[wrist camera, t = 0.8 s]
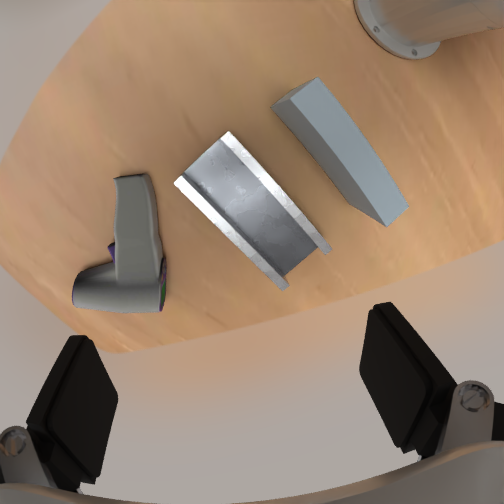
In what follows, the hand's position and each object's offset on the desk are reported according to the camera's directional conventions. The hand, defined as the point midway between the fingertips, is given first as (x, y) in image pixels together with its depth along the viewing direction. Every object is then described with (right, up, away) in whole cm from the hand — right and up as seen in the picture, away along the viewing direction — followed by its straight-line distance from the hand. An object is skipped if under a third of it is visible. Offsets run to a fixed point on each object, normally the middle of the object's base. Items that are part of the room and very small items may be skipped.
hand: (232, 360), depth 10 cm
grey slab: (+8, +15, +22) cm, 28 cm away
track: (+1, +8, +24) cm, 25 cm away
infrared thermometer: (-15, +5, +24) cm, 29 cm away
